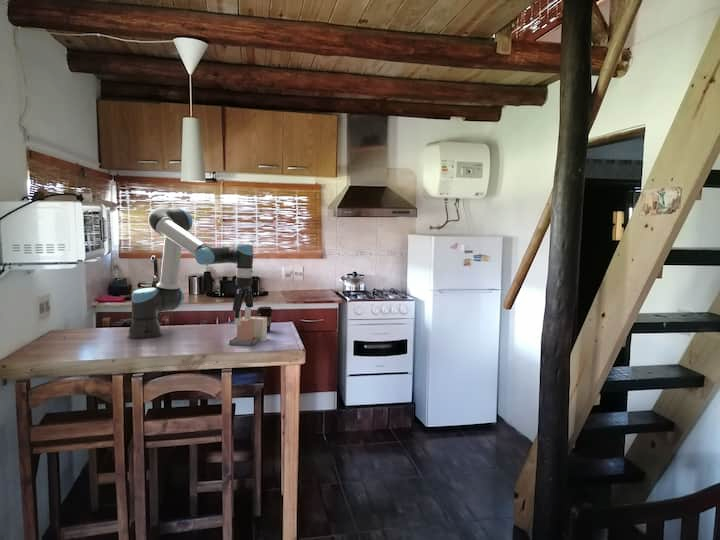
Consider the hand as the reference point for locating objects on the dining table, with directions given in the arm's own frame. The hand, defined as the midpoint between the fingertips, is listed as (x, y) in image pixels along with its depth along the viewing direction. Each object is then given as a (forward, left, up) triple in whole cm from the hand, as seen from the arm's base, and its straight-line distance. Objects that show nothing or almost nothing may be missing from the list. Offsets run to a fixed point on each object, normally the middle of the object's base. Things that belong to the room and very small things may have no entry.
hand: (242, 322), depth 228 cm
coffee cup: (+1, +28, -10) cm, 30 cm away
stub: (+1, 0, -10) cm, 10 cm away
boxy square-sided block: (+2, +9, -10) cm, 14 cm away
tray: (+1, +1, -10) cm, 10 cm away
